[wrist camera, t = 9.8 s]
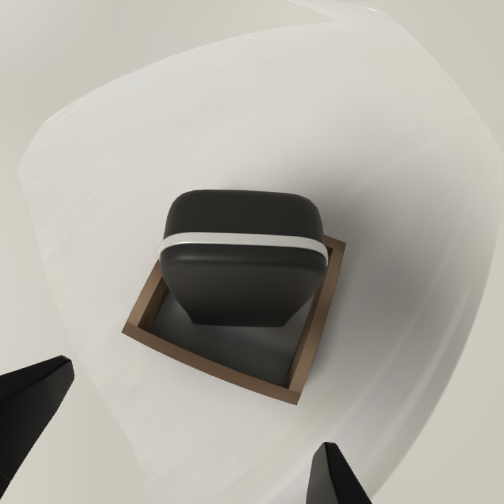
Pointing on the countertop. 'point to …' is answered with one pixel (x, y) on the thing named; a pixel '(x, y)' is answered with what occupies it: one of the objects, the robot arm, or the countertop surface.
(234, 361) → the wooden tray
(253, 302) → the battery charger
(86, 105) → the countertop surface
